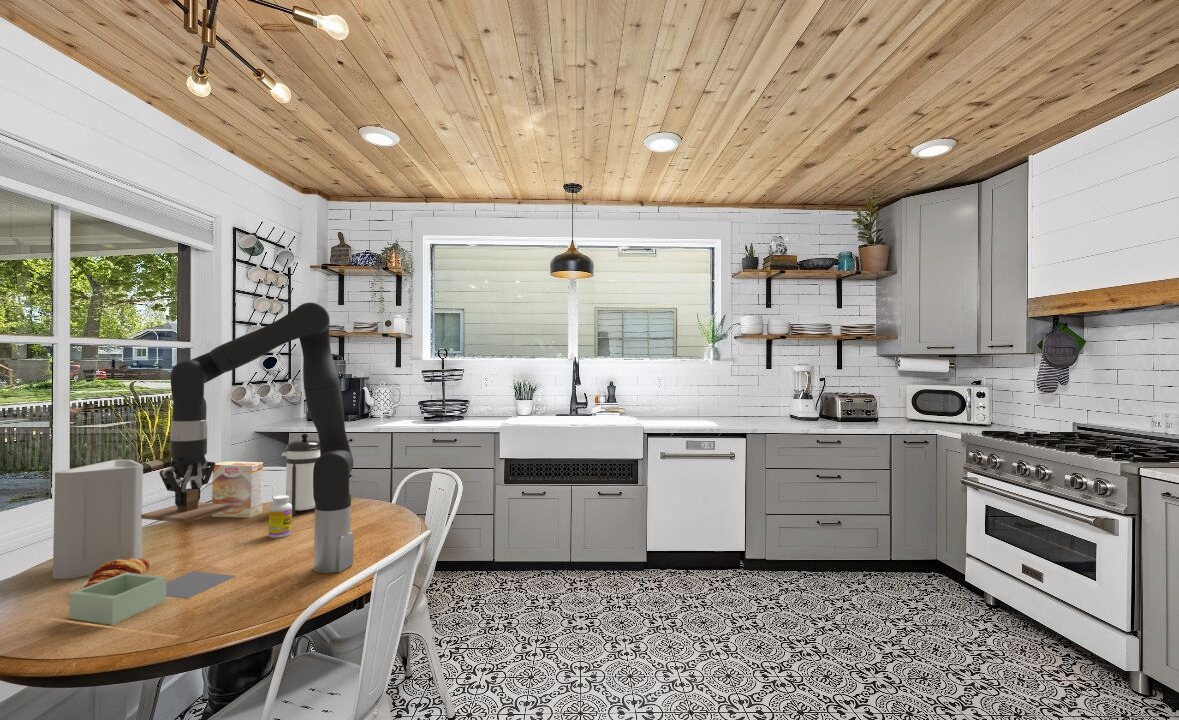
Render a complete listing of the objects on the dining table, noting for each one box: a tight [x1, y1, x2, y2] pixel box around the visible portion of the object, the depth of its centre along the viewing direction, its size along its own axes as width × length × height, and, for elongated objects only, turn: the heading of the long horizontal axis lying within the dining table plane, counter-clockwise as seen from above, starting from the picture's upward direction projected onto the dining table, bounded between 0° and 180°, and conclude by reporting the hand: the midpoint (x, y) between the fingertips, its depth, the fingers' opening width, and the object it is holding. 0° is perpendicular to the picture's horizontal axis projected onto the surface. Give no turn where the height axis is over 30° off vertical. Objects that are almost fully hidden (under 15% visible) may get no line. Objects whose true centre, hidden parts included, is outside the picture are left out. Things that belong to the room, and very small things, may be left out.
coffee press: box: [281, 433, 320, 517], centre depth 207 cm, size 17×16×30 cm
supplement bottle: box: [268, 494, 293, 539], centre depth 177 cm, size 7×7×13 cm
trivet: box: [166, 570, 237, 600], centre depth 137 cm, size 14×14×1 cm
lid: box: [141, 488, 231, 524], centre depth 137 cm, size 13×13×6 cm
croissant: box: [83, 557, 152, 588], centre depth 138 cm, size 21×10×8 cm, turn 7°
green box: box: [69, 572, 167, 627], centre depth 123 cm, size 12×12×6 cm
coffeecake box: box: [211, 460, 264, 519], centre depth 199 cm, size 15×7×20 cm, turn 88°
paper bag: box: [52, 459, 144, 580], centre depth 150 cm, size 19×15×28 cm
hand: (187, 504), depth 137 cm, fingers closed on lid, 3 cm apart
